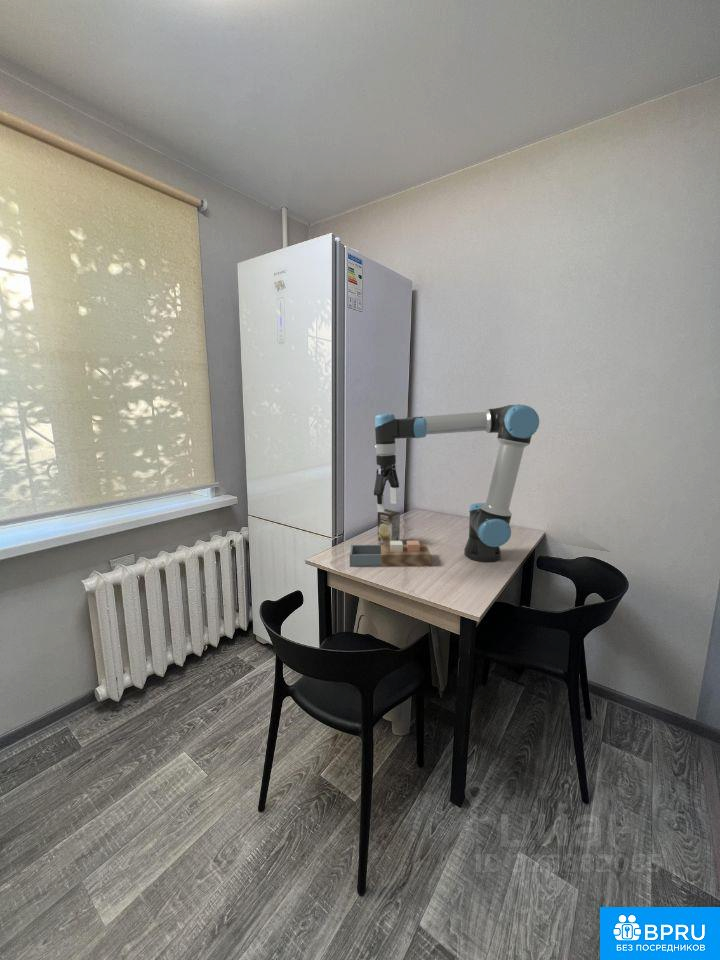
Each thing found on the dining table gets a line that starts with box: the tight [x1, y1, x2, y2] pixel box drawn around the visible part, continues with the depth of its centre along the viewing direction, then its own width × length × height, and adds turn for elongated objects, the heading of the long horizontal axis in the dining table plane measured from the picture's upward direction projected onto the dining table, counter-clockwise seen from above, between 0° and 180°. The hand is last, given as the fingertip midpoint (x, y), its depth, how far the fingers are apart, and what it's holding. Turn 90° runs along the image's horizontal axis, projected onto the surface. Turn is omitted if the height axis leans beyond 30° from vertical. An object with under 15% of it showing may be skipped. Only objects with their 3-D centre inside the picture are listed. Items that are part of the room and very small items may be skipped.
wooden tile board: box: [381, 543, 432, 567], centre depth 163 cm, size 20×12×5 cm, turn 88°
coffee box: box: [377, 508, 401, 545], centre depth 182 cm, size 9×6×16 cm
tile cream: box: [390, 540, 403, 552], centre depth 162 cm, size 5×5×3 cm
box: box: [349, 544, 381, 568], centre depth 164 cm, size 13×12×5 cm
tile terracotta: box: [406, 540, 421, 552], centre depth 162 cm, size 5×5×3 cm
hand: (387, 507), depth 153 cm, fingers open, 13 cm apart
